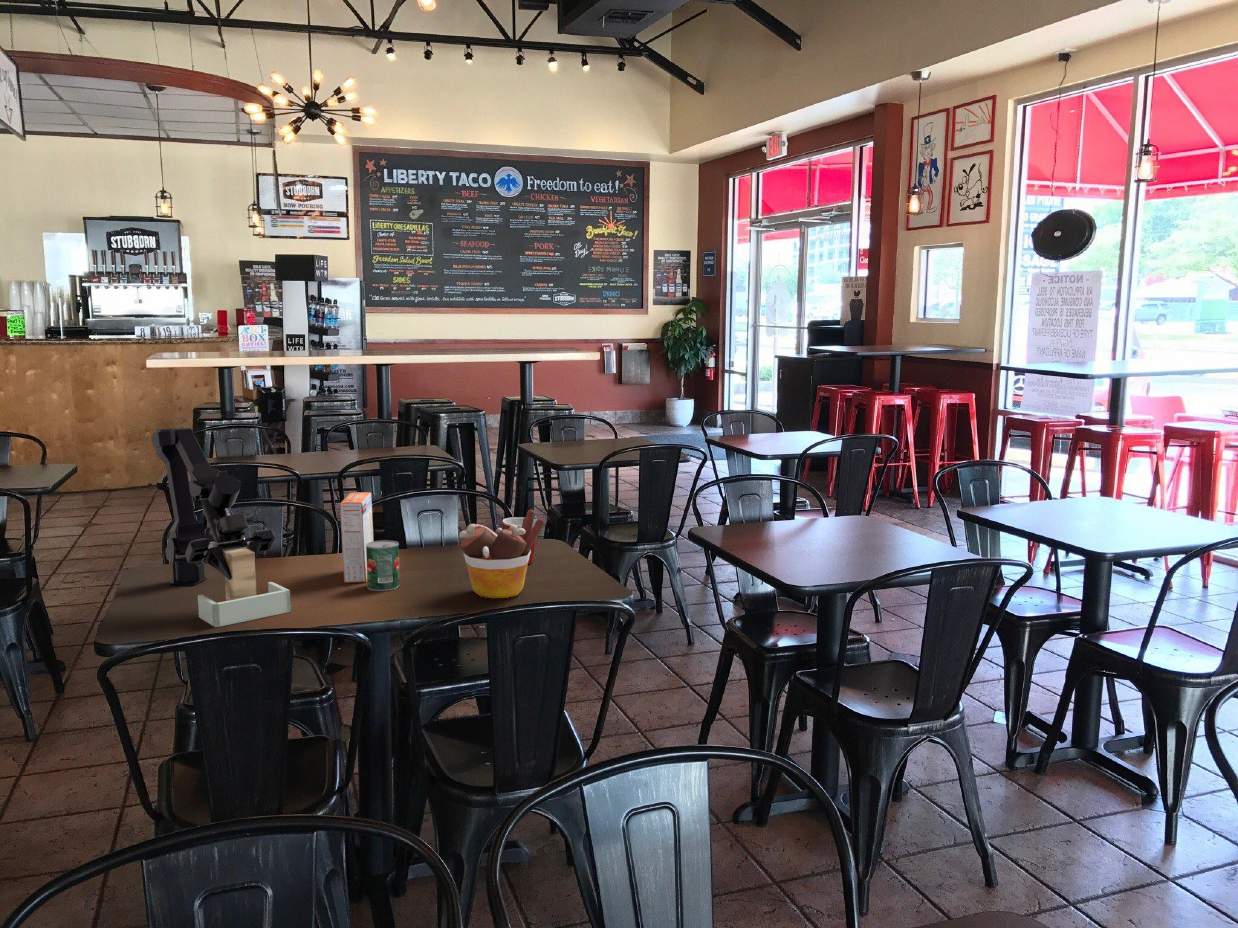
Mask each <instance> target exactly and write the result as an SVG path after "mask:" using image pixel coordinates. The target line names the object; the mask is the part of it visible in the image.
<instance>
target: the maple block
mask: <svg viewBox="0 0 1238 928" xmlns="http://www.w3.org/2000/svg"><path fill="white" fill-rule="evenodd" d="M223 556H224V558H225V560H226V563H227V565H228V567H229V569H230V572H231V575H232V578H231V580H229V579H228V578H226V577H225V576H224V584H225V586H224V587H225V601H230V600H235V599H240V598H245V597H250V596H256V595H258V594H257V579H256V578H257V576H256V573H257V571H256V572H255V552H253V551H251V550H248V549H246V548H244V547H243V548H237V549H230V550H224V551H223Z"/></svg>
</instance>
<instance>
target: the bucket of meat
mask: <svg viewBox="0 0 1238 928" xmlns="http://www.w3.org/2000/svg"><path fill="white" fill-rule="evenodd" d="M535 516H536V512H535V511H534V510H533V509H528V510H527V512H526V516H524V517H523V518H524V519H523V523H522V528H520V527H517V526H516V525H511V526H510V528H509V529H507V530H506V529H505V528H502V527H498V528H497V529H495V531H493V530H492V529H490V528H489V527H487V526H485V525H481V524H477V523H471V524H468V525H467V526H466V528H465V530H462V531H460V532H459V536H458V537H459V538H460V539H462V540H461V541H460V544H459V547H460V549H461V551H462V552H463V558H464V559H465V564H466V569H467V572H468V575H469V580H470V584H471V585H470V586H471V588H472V591H473V592H474V593H475V594H476V595H477V594H478V595H479V596H478V595H477V596H478V597H480V598H481V597H485V598H484V599H487V598H493V599H492V600H495V599H494V598H507V599H510V598H509V597H511V598H514V596H515V597H517V596H518V595H519V594H520V593H521V592H522V590H523V589H524V585H525V582H526V581H525V580H526V575H527V569H528V566H529V565H528V561H529V556H530V553H531V550H530V549H531V547H532V546H533V544H534V542H535V541H536V539H537V540H538V537H539V535H540V533H541V531H542V529H543V527H544V525H545V520H544V518H538V519H536V520H537V521H536V522H535V524H534V526H533V523H534V519H535Z"/></svg>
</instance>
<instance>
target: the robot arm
mask: <svg viewBox="0 0 1238 928" xmlns="http://www.w3.org/2000/svg"><path fill="white" fill-rule="evenodd" d="M196 435H197V434H196V431H195V429H194V428H191V427H183V426H181V427H168V428H167V427H166V428H157V429H156V431H155V432H153V433H152V435H151V442H152V443H151V444H152V447H154V448H155V449H154V450H155V453H156V457H158V458H159V459H160V461H162V463H163V464H164V465H165V471H166V476H167V477H166V478H167V483H168V488H169V492H170V493H169V495H170V499H171V500H170V501H171V505H172V511H173V519H174V522H173V525H172V526H171V529H170V531H169V540H168V543H167V545H166V548H165V558H166V560H167V561H169V562H171V563H172V565H171V566H172V576H173V577H172V579H173V580H172V581H170V582H169V585H174V586H175V585H176V586H195V585H197V584H199V583H202V582H203V580H204V581H205V580H207V579H208V578H207V576H206V575H205V573H206V572H205V565H210V566H211V567H213V568H214V569H215V570H217V572H219V573H220V574H222V575H223V576H224V578H225V577H226V578H228V579H229V580H231V578H232V575H231V572H230V569H229V567H228V565H227V563H226V560H225V558H224V551H231V550H237V549H243V548H246V549H248V550H251V551H253V552H255V572H256V573H257V571H256V570H257V555H258V553H263V552H268V551H269V550H270V549H271V547H272V545H273V543H274V541H275V539H276V536H275V533H274V530H272V529H270V528H266V529H258V530H254V532H253V533H252V535H251V537H246V538H245V537H244V538H243V536H245V534H246V530H245V529H246V528H247V529H248V528H249V526H252V525H254V524H255V522H256V519H255V515H254V512H253V511H252V510H251V509H248V510H244V511H242V512H241V513H238V514H234V513H233V510H232V508H231V507H232V506H234V505H235V502H236V501H237V497H238V495H239V494H240V490H241V487H242V484H241V481H240V480H239V479H238V478H237V477H236V476H233V475H231V474H228V471H227V470H224V471H220V470H219V469H218V468H216V466H215V467H214V466H212V465H211V464H210V463H209V461H208V459H207V457H206V455H205V453H204V451H203V449H202V447H201V446H200V443H199V442H198V440H197V436H196ZM188 473H189V475H188ZM189 476H190V480H189ZM192 497H193V498H194V500H196V501H202V500H205V501H204V502H203V505H202V506H201V507H202V517H205V519H206V521H207V525H208V526H209V529H210V530H209V531H208V532H209V536H210V537H211V536H212V537H213V540H214V541H210V539H209V538H208V535H207V533H206V529H205V524H204V523H203V522H202V521H201V522H200V521H199V520H198V519H197V518H196V515H195V510H194V504H193V500H192V499H193V498H192ZM201 581H202V582H201Z"/></svg>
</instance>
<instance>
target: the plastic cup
mask: <svg viewBox="0 0 1238 928" xmlns="http://www.w3.org/2000/svg"><path fill="white" fill-rule="evenodd" d="M524 518H525V517H522V516H521V517H520V516H519V517H516V516H515V517H514V516H513V517H507V518H506V517H505V518H503V519H502V524H503V525H504V529H506V530H507V529H509V528H510V526H511V525H516V526H517V527H520V528H522V523H523V519H524ZM537 520H538V519H535V518H534V523H533V526H534V524H535V522H536V521H537ZM537 540H538V538H537V539H536V541H535V542H534V544H533V546H532V547H531V549H530V550H531V553H530V556H529V561H528V564H530V565H532V564H533V563H532V562H533V561H534V558H535V552H536V548H537V542H538V541H537ZM531 563H532V564H531Z"/></svg>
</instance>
